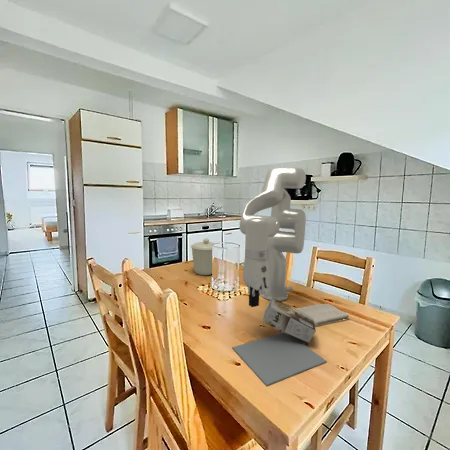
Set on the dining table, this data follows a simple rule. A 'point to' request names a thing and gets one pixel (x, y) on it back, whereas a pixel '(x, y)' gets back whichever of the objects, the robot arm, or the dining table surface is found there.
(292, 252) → the robot arm
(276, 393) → the dining table surface
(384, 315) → the dining table surface
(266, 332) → the dining table surface
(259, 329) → the dining table surface
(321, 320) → the washcloth
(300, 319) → the coffee box
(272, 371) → the mat
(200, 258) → the canister
